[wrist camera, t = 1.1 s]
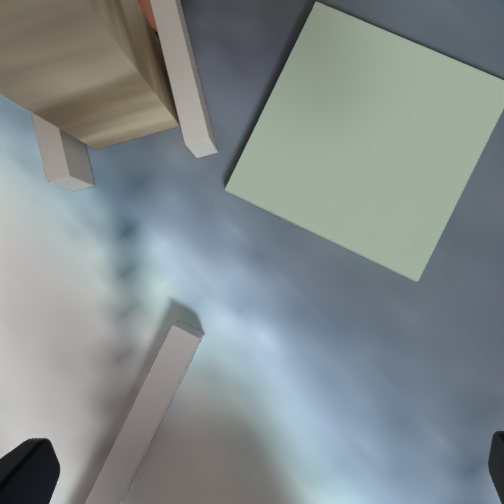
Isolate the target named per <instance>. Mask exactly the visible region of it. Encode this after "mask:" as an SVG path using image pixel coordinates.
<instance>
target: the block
mask: <svg viewBox="0 0 504 504" xmlns="http://www.w3.org/2000/svg"><path fill="white" fill-rule="evenodd" d="M0 94H2V95H4V96H5V97H7V98H9V99H10V100H12V101H14V102H16V103H17V104H19V105H21V106H22V107H24V108H26V109H27V110H29V111H31V112H32V113H34V114H36V115H38V116H39V117H41V118H43V119H44V120H46V121H48V122H49V123H51V124H53V125H55V126H56V127H58V128H60V129H61V130H63V131H65V132H66V133H68V134H70V135H71V136H73V137H75V138H77V139H78V140H80V141H82V142H83V143H85V144H87V145H88V146H90V147H92V148H94V149H95V150H96V149H100V148H103V147H107V146H111V145H114V144H118V143H121V142H125V141H128V140H132V139H136V138H139V137H143V136H146V135H150V134H153V133H157V132H160V131H164V130H168V129H171V128H175V127H178V126H180V124H179V120H178V116H177V112H176V108H175V104H174V100H173V95H172V91H171V87H170V83H169V79H168V75H167V71H166V67H165V63H164V59H163V54H162V50H161V46H160V42H159V40H158V38H157V36H156V34H155V32H154V31H153V29H152V27H151V25H150V23H149V22H148V20H147V18H146V16H145V15H144V13H143V11H142V9H141V7H140V6H139V4H138V2H137V0H0Z"/></svg>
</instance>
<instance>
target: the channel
mask: <svg viewBox="0 0 504 504" xmlns="http://www.w3.org/2000/svg"><path fill="white" fill-rule="evenodd" d="M137 2H138V4H139V6H140V7H141V9H142V11H143V13H144V15H145V16H146V18H147V20H148V22H149V23H150V25H151V27H152V29H153V31H154V32H158V35H159V39H160V43H161V47H162V51H163V55H164V59H165V63H166V67H167V72H168V76H169V80H170V84H171V88H172V92H173V96H174V100H175V104H176V108H177V113H178V117H179V121H180V125H181V129H182V133H183V137H184V141H185V144H186V146H187V147H188V148H189V149H190V150H191V152H192V153H193V154H194V155H195V156H196V158H199V157H203V156H206V155H210V154H214V153H217V152H218V151H217V147H216V143H215V139H214V135H213V131H212V127H211V123H210V119H209V115H208V111H207V107H206V103H205V99H204V95H203V90H202V86H201V82H200V78H199V74H198V70H197V66H196V62H195V58H194V54H193V50H192V46H191V42H190V38H189V34H188V30H187V26H186V22H185V18H184V14H183V10H182V6H181V1H180V0H137ZM31 113H32V112H31ZM32 117H33V121H34V126H35V130H36V135H37V139H38V143H39V148H40V152H41V157H42V161H43V165H44V170H45V174H46V179H47V182H48V183H51V184H54V185H57V186H60V187H63V188H66V189H69V190H72V191H78V190H82V189H85V188H89V187H93V186H95V184H94V180H93V176H92V171H91V167H90V163H89V159H88V154H87V150H86V146H85V143H83V142H82V141H80V140H78V139H77V138H75V137H73V136H71V135H70V134H68V133H66V132H65V131H63V130H61V129H60V128H58V127H56V126H55V125H53V124H51V123H49V122H48V121H46V120H44V119H43V118H41V117H39V116H38V115H36V114H34V113H32Z"/></svg>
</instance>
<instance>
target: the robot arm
mask: <svg viewBox="0 0 504 504" xmlns="http://www.w3.org/2000/svg"><path fill="white" fill-rule="evenodd" d="M488 468H489V472H490V476H491V478H492V481H493V483H494V486H495V488H496V491H497V493H498V496H499V498H500V501H501V503H502V504H504V431H497V432H495V433H494V434H493V437H492V443H491V448H490V454H489V459H488ZM59 474H60V464H59V461H58V459H57V456H56V454H55V451H54V449H53V446H52V443H51V442H50V440H48V439H47V438H31V439H28V440H26V441H24V442H23V443H21V444H20V445H19V446H17V447H16V448H15V449H13V450H12V451H10V452H9V453H8V454H6V455H5V456H4V457H2V458H1V459H0V504H49V502H50V500H51V497H52V494H53V492H54V489H55V486H56V484H57V481H58V478H59Z"/></svg>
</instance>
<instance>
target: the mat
mask: <svg viewBox="0 0 504 504" xmlns="http://www.w3.org/2000/svg"><path fill="white" fill-rule="evenodd" d="M503 109H504V80H502V79H499V78H497V77H495V76H492V75H490V74H487V73H485V72H483V71H480V70H478V69H476V68H473V67H471V66H468V65H466V64H464V63H461V62H459V61H457V60H454V59H452V58H449V57H447V56H445V55H442V54H440V53H438V52H435V51H433V50H430V49H428V48H426V47H423V46H421V45H419V44H416V43H414V42H412V41H409V40H407V39H404V38H402V37H400V36H397V35H395V34H393V33H390V32H388V31H385V30H383V29H381V28H378V27H376V26H374V25H371V24H369V23H366V22H364V21H362V20H359V19H357V18H355V17H352V16H350V15H347V14H345V13H343V12H340V11H338V10H336V9H333V8H331V7H328V6H326V5H324V4H321V3H319V2H317V1H316V2H315V4H314V6H313V8H312V11H311V13H310V15H309V17H308V19H307V21H306V23H305V25H304V27H303V29H302V31H301V33H300V35H299V37H298V39H297V42H296V44H295V46H294V48H293V50H292V52H291V54H290V56H289V58H288V60H287V62H286V64H285V66H284V68H283V70H282V73H281V75H280V77H279V79H278V81H277V83H276V85H275V87H274V89H273V91H272V93H271V95H270V97H269V99H268V101H267V104H266V106H265V108H264V110H263V112H262V114H261V116H260V118H259V120H258V122H257V124H256V126H255V128H254V130H253V132H252V135H251V137H250V139H249V141H248V143H247V145H246V147H245V149H244V151H243V153H242V155H241V157H240V159H239V161H238V164H237V166H236V168H235V170H234V172H233V174H232V176H231V178H230V180H229V182H228V184H227V186H226V188H225V191H226V192H228V193H230V194H232V195H234V196H236V197H238V198H240V199H242V200H244V201H247V202H249V203H251V204H253V205H255V206H257V207H259V208H261V209H263V210H265V211H267V212H270V213H272V214H274V215H276V216H278V217H280V218H282V219H284V220H286V221H288V222H291V223H293V224H295V225H297V226H299V227H301V228H303V229H305V230H307V231H309V232H312V233H314V234H316V235H318V236H320V237H322V238H324V239H326V240H328V241H330V242H333V243H335V244H337V245H339V246H341V247H343V248H345V249H347V250H349V251H351V252H354V253H356V254H358V255H360V256H362V257H364V258H366V259H368V260H370V261H372V262H375V263H377V264H379V265H381V266H383V267H385V268H387V269H389V270H391V271H393V272H395V273H398V274H400V275H402V276H404V277H406V278H408V279H410V280H412V281H416V282H418V280H419V278H420V276H421V274H422V272H423V270H424V268H425V266H426V264H427V262H428V260H429V258H430V256H431V254H432V252H433V250H434V248H435V246H436V244H437V242H438V240H439V238H440V236H441V234H442V232H443V230H444V228H445V226H446V224H447V222H448V220H449V218H450V216H451V214H452V212H453V210H454V208H455V206H456V204H457V202H458V200H459V198H460V196H461V194H462V192H463V190H464V188H465V186H466V184H467V182H468V179H469V177H470V175H471V173H472V171H473V169H474V167H475V165H476V163H477V161H478V159H479V157H480V155H481V153H482V151H483V149H484V147H485V145H486V143H487V141H488V139H489V137H490V135H491V133H492V131H493V129H494V127H495V125H496V123H497V121H498V119H499V117H500V115H501V113H502V111H503Z"/></svg>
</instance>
